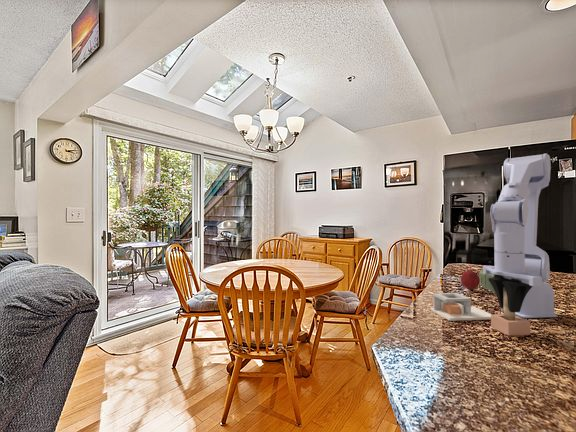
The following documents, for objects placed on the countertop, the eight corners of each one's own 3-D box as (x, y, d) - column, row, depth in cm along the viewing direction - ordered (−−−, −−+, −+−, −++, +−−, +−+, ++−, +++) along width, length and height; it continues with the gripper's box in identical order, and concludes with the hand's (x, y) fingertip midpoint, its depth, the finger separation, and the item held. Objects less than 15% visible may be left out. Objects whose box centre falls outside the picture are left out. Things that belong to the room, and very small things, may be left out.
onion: (483, 292, 103) (483, 269, 103) (467, 292, 103) (466, 269, 103) (473, 288, 109) (473, 266, 109) (457, 288, 109) (457, 266, 109)
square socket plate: (473, 308, 85) (473, 290, 86) (497, 319, 77) (497, 299, 77) (430, 309, 85) (430, 292, 85) (449, 320, 76) (449, 301, 76)
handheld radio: (488, 287, 112) (529, 306, 87) (478, 287, 112) (516, 306, 88) (487, 269, 112) (528, 284, 87) (477, 269, 112) (515, 284, 88)
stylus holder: (511, 326, 72) (511, 313, 72) (530, 334, 66) (530, 321, 66) (491, 326, 71) (491, 314, 71) (508, 335, 66) (508, 322, 66)
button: (453, 310, 82) (453, 303, 82) (459, 313, 79) (459, 306, 79) (443, 310, 82) (443, 303, 82) (449, 314, 79) (449, 306, 79)
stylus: (510, 322, 70) (509, 286, 70) (518, 325, 68) (517, 289, 68) (500, 322, 70) (500, 286, 70) (508, 326, 68) (508, 289, 68)
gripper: (471, 248, 76) (472, 301, 76) (519, 256, 61) (520, 321, 61) (497, 248, 76) (498, 300, 76) (550, 256, 62) (551, 320, 62)
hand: (509, 309), depth 69 cm, fingers closed on stylus, 2 cm apart
